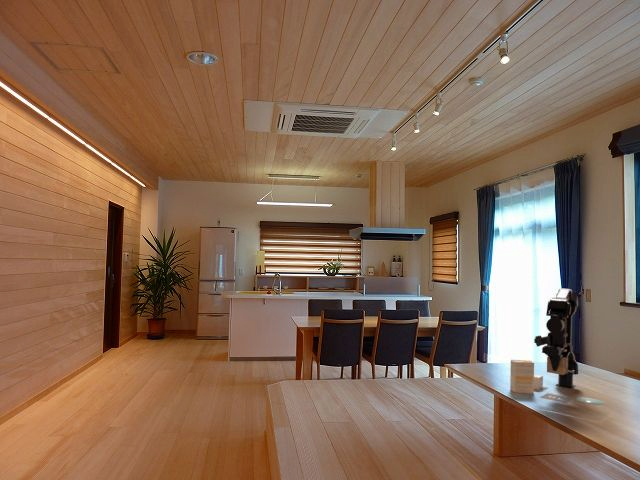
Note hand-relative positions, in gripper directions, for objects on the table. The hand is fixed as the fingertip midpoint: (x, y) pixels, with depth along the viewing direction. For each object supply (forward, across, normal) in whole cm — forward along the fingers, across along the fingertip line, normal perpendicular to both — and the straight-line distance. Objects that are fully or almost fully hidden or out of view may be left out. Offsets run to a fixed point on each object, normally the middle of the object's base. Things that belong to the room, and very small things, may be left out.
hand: (557, 369), depth 193 cm
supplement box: (+12, +2, -13) cm, 18 cm away
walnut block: (+1, 0, 0) cm, 1 cm away
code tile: (+11, 0, 0) cm, 11 cm away
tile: (+12, -10, -12) cm, 19 cm away
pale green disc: (+11, -6, +10) cm, 17 cm away
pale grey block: (+11, -10, -12) cm, 19 cm away
